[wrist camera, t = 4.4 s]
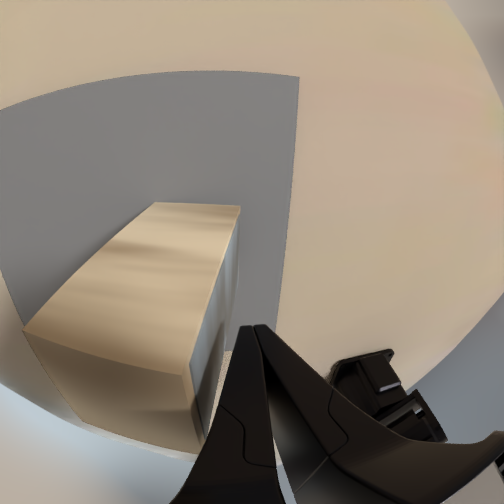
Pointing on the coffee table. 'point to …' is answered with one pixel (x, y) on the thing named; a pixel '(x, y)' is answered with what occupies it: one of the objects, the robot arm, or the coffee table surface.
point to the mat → (147, 174)
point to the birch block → (146, 325)
